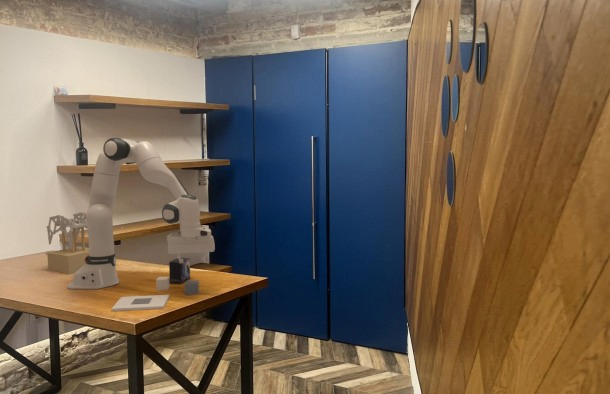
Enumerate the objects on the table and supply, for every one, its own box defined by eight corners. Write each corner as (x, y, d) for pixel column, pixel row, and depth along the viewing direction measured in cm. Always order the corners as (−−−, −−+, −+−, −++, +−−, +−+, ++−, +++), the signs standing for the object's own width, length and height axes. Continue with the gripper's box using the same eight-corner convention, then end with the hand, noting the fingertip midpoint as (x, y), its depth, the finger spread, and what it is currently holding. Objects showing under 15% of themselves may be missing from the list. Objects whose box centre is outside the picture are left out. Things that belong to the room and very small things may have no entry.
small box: (181, 284, 233) (180, 262, 232) (169, 283, 235) (168, 261, 234) (191, 278, 244) (190, 257, 243) (179, 277, 245) (178, 257, 244)
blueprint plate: (111, 311, 194) (111, 308, 194) (121, 299, 210) (121, 296, 210) (163, 308, 196) (163, 305, 196) (169, 296, 212) (169, 294, 212)
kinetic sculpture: (104, 267, 269) (101, 213, 266) (70, 275, 252) (67, 217, 249) (77, 262, 282) (74, 210, 279) (43, 270, 265) (39, 214, 262)
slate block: (185, 295, 215) (184, 283, 215) (186, 291, 221) (186, 280, 220) (197, 294, 216) (197, 283, 215) (199, 291, 221) (198, 280, 221)
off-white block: (156, 290, 223) (156, 279, 222) (158, 287, 228) (158, 277, 227) (167, 290, 223) (167, 279, 223) (169, 287, 228) (169, 276, 228)
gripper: (165, 234, 212) (167, 265, 213) (213, 231, 214) (215, 262, 215) (167, 231, 218) (169, 262, 219) (214, 229, 220) (215, 259, 222)
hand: (192, 262), depth 217 cm, fingers open, 8 cm apart
